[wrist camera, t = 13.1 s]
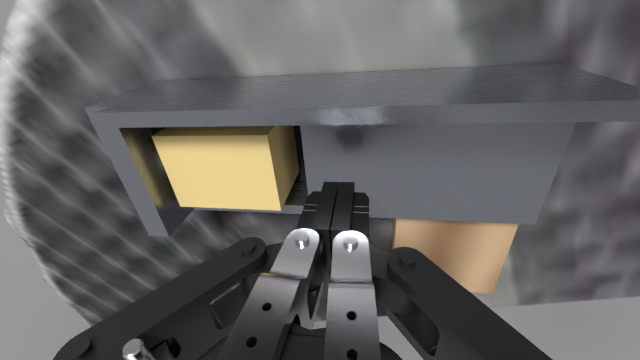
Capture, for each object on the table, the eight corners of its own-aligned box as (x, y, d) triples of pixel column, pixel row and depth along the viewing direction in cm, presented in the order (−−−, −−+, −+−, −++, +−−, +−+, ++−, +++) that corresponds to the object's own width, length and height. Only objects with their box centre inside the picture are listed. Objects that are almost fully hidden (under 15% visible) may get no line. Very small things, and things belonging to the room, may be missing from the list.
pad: (512, 202, 20) (521, 215, 19) (486, 278, 24) (492, 293, 23) (396, 198, 21) (397, 210, 20) (390, 271, 26) (391, 285, 24)
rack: (560, 62, 15) (676, 99, 9) (514, 196, 20) (573, 277, 14) (158, 81, 20) (66, 113, 14) (196, 187, 24) (139, 246, 18)
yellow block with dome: (267, 135, 15) (142, 136, 16) (281, 210, 18) (172, 206, 19) (290, 106, 19) (190, 109, 21) (299, 171, 22) (209, 169, 23)
